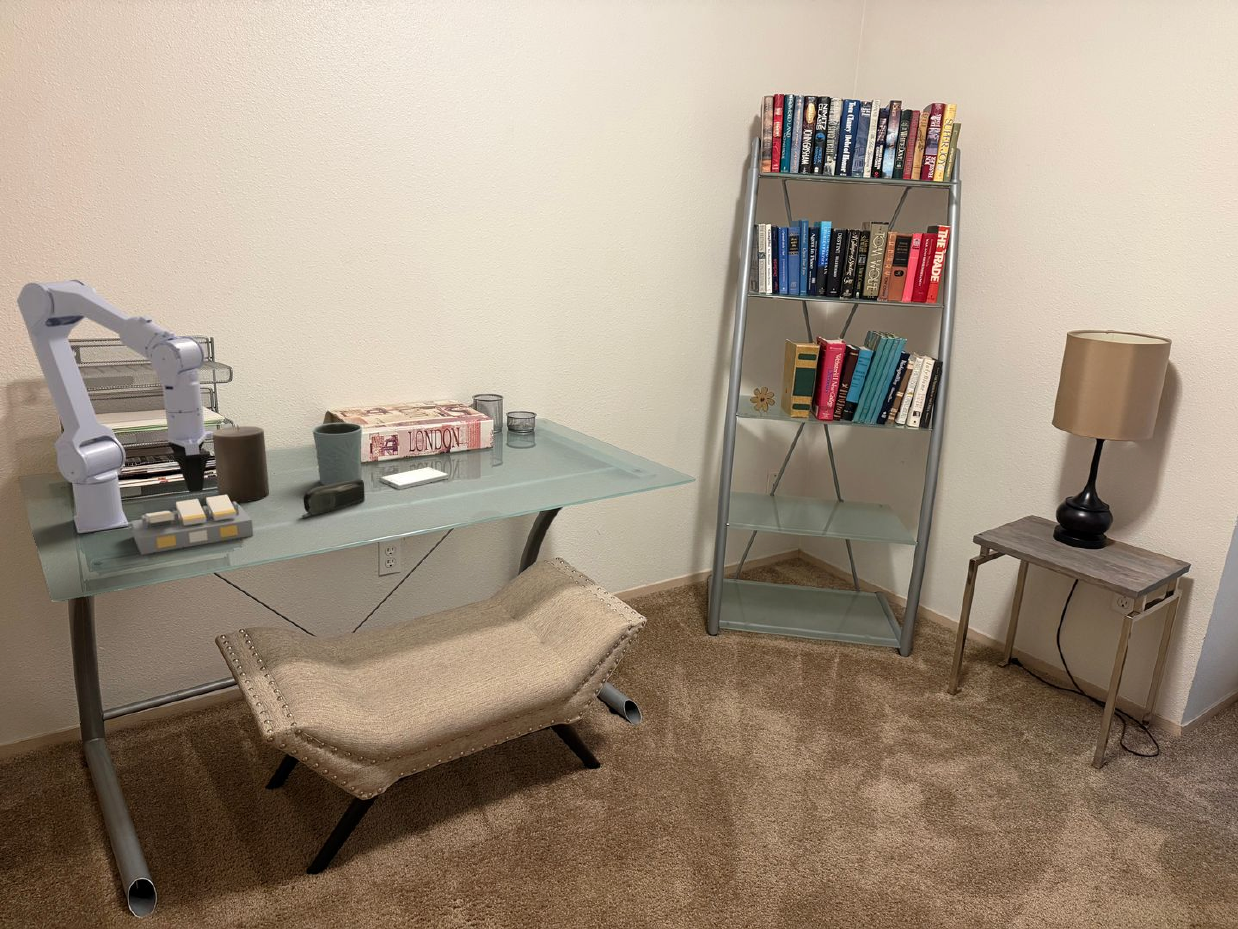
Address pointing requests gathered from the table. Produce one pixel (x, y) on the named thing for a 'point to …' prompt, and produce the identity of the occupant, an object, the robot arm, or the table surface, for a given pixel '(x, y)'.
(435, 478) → the hard drive
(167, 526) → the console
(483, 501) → the table surface
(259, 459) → the pillar candle
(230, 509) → the rocker
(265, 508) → the table surface
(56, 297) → the robot arm
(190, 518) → the rocker
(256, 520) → the table surface
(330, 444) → the grey green cup
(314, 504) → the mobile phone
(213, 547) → the table surface
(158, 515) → the block
